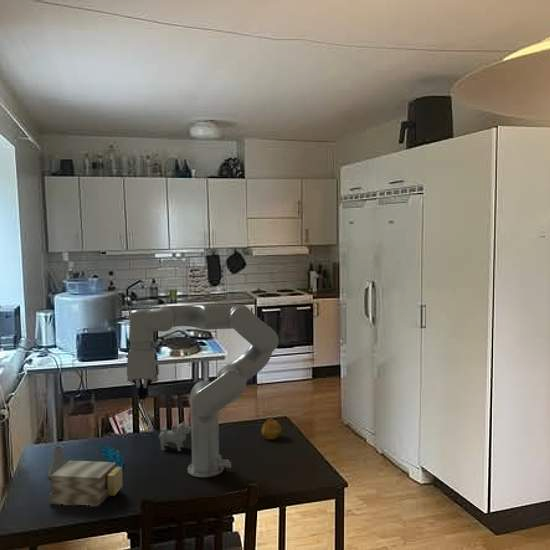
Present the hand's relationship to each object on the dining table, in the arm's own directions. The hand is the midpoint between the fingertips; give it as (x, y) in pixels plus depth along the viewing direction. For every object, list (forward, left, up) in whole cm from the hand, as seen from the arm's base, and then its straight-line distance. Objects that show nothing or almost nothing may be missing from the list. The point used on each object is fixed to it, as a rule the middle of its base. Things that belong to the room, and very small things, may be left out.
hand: (143, 398), depth 185 cm
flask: (+30, +3, -27) cm, 41 cm away
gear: (+14, -6, -27) cm, 31 cm away
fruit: (-39, -40, -27) cm, 62 cm away
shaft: (+13, +16, -25) cm, 33 cm away
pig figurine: (-3, -25, -27) cm, 37 cm away
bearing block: (+14, +16, -27) cm, 34 cm away
